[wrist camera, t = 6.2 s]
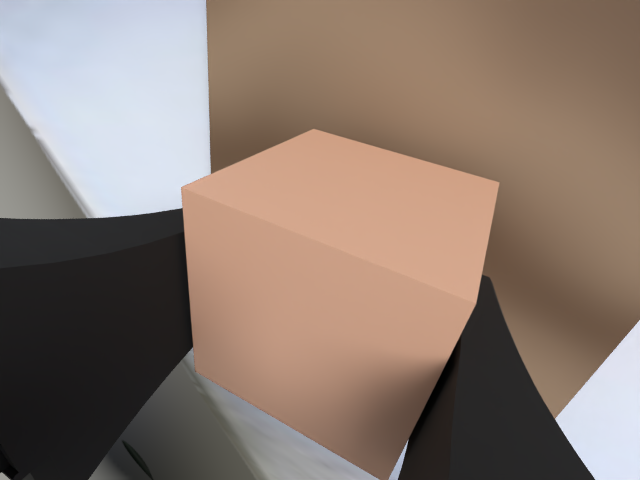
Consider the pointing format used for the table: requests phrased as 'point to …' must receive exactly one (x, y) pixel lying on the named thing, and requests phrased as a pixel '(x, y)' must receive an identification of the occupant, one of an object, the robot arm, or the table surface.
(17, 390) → the robot arm
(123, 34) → the table surface
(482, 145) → the walnut base
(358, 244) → the terracotta block
